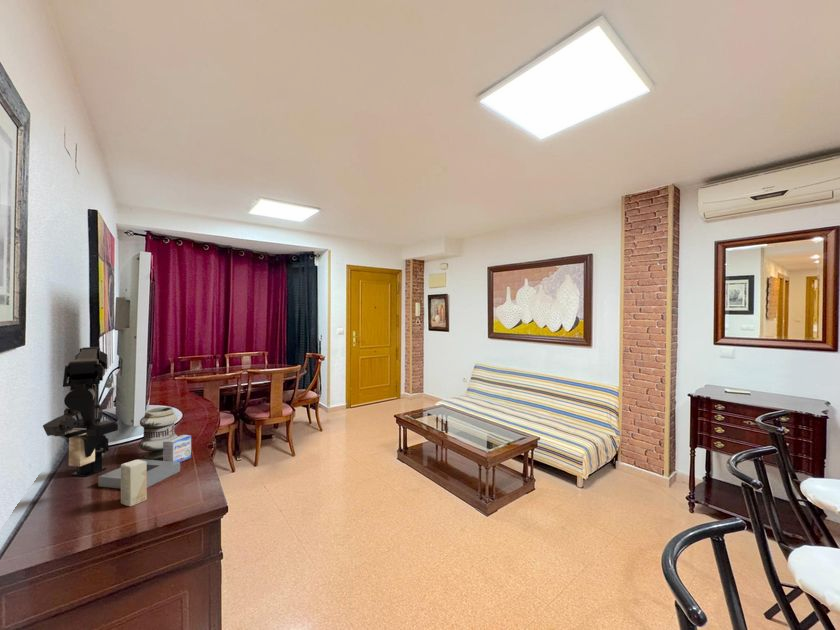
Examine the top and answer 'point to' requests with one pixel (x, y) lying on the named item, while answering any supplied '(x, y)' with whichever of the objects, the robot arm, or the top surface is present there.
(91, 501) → the top surface
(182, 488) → the top surface
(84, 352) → the robot arm
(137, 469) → the box
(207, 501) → the top surface
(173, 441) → the medicine box
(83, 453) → the maple block
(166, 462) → the pocket plate
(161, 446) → the apothecary jar
